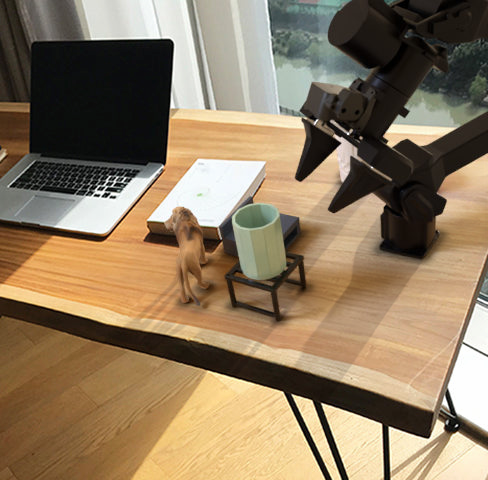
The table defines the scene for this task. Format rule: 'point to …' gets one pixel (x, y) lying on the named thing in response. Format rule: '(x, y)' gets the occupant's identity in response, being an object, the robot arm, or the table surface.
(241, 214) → the tumbler
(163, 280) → the table surface
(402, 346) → the table surface
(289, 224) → the shelf
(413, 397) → the table surface
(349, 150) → the white cup
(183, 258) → the lion figurine
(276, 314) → the rack
